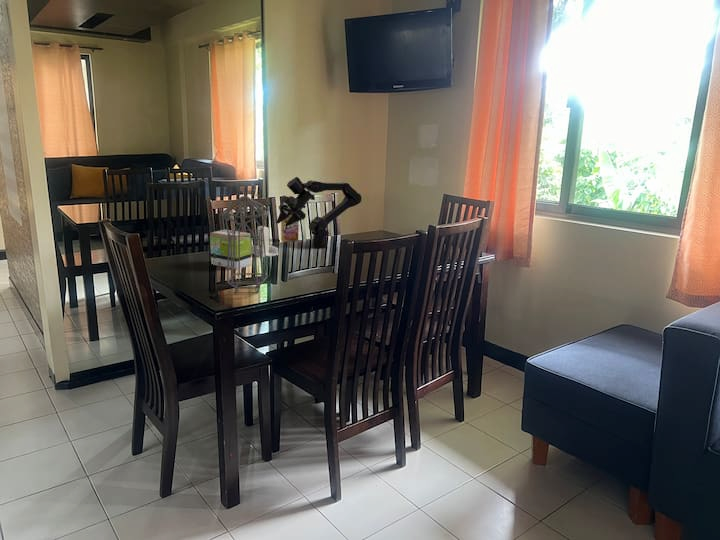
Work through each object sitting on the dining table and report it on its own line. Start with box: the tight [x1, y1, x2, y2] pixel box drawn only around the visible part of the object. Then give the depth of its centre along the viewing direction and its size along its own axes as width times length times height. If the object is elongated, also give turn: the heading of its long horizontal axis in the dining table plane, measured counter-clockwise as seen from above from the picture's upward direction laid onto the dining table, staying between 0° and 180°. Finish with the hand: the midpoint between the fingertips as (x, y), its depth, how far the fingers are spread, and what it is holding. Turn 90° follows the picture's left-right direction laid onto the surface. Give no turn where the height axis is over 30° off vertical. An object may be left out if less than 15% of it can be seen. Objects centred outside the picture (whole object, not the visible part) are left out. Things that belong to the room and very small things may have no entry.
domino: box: [257, 225, 270, 253], centre depth 253 cm, size 6×3×12 cm, turn 36°
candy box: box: [280, 215, 300, 243], centre depth 284 cm, size 9×4×15 cm, turn 109°
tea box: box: [209, 228, 252, 270], centre depth 230 cm, size 15×10×15 cm
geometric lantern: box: [219, 195, 270, 294], centre depth 190 cm, size 16×16×35 cm
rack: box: [251, 244, 279, 258], centre depth 254 cm, size 13×9×4 cm
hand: (281, 224), depth 257 cm, fingers open, 9 cm apart
